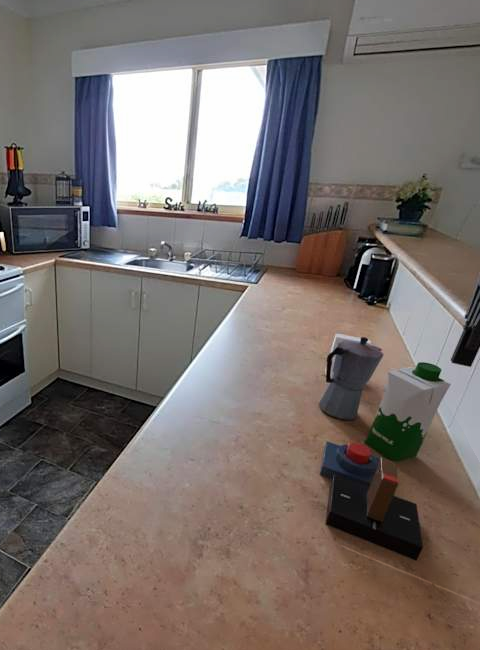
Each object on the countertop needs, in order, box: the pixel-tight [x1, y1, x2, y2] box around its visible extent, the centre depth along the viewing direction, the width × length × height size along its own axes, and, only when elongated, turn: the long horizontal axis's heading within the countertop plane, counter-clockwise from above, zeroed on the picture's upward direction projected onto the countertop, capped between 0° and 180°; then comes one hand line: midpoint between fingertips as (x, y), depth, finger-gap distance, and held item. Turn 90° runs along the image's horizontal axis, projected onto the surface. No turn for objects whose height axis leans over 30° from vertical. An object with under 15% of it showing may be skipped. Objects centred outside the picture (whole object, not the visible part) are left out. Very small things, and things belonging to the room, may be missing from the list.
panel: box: [325, 475, 424, 561], centre depth 67 cm, size 13×10×3 cm
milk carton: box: [364, 361, 452, 463], centre depth 82 cm, size 9×9×20 cm
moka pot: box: [318, 336, 384, 421], centre depth 95 cm, size 10×15×20 cm, turn 112°
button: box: [346, 442, 372, 464], centre depth 77 cm, size 4×4×2 cm
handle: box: [367, 457, 399, 522], centre depth 65 cm, size 6×2×8 cm, turn 151°
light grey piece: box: [324, 333, 372, 379], centre depth 114 cm, size 9×9×12 cm
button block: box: [319, 440, 381, 487], centre depth 78 cm, size 11×9×4 cm
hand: (460, 363), depth 70 cm, fingers closed
